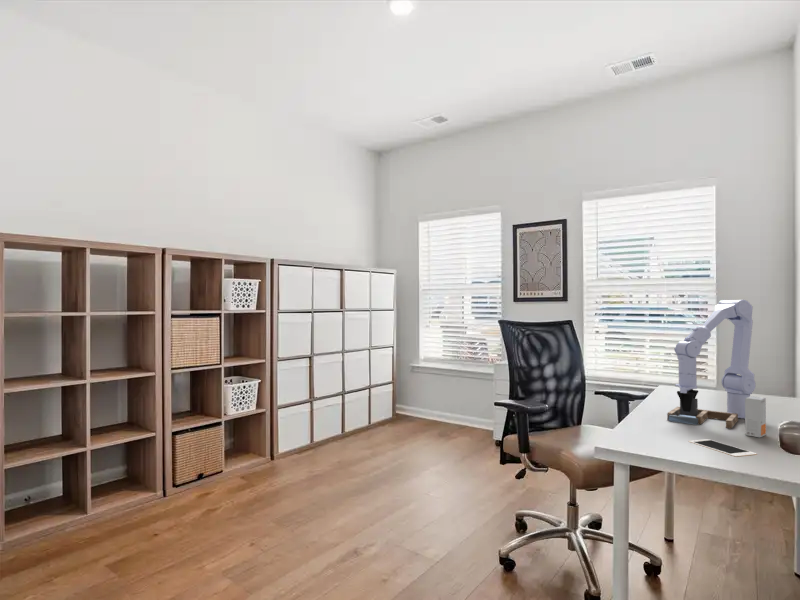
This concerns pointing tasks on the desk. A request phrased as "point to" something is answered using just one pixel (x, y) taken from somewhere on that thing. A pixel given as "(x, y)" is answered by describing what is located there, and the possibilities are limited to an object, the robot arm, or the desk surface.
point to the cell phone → (723, 448)
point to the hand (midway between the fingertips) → (687, 410)
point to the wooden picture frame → (702, 417)
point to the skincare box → (755, 416)
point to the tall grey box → (693, 408)
